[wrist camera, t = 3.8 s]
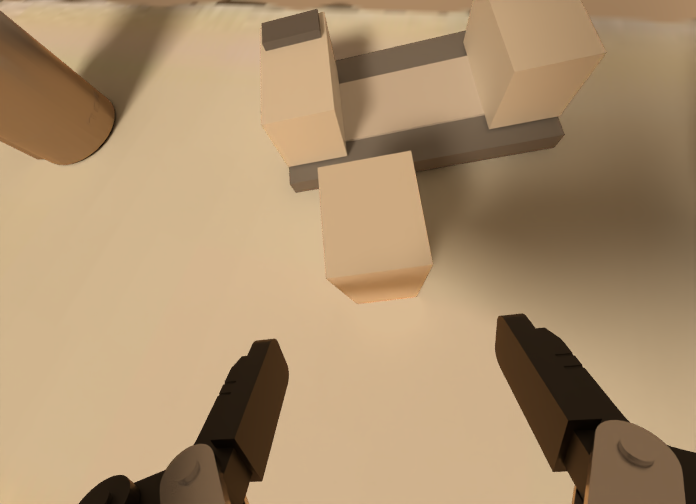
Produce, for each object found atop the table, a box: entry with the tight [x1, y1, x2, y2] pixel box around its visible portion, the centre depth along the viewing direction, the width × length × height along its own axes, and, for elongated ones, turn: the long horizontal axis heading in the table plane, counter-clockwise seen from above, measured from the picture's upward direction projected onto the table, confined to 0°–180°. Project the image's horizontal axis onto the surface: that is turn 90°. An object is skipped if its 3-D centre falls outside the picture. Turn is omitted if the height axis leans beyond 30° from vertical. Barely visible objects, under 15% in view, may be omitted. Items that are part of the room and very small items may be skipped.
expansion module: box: [318, 151, 433, 304], centre depth 17 cm, size 4×6×10 cm
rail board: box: [260, 0, 607, 193], centre depth 22 cm, size 21×12×7 cm, turn 96°
